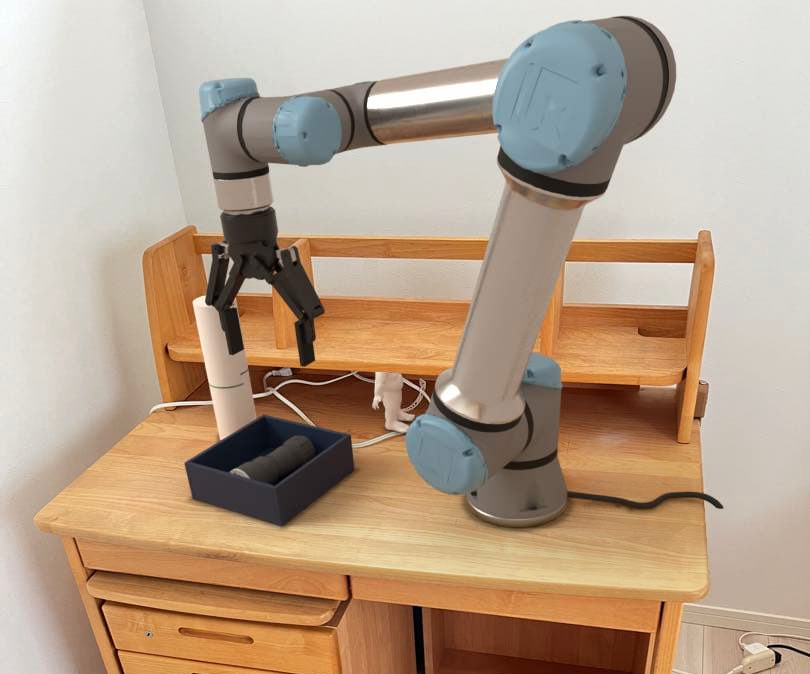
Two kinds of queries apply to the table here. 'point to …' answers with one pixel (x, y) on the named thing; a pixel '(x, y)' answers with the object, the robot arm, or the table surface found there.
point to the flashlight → (278, 461)
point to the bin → (290, 490)
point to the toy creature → (391, 400)
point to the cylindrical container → (224, 372)
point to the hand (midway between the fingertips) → (271, 357)
